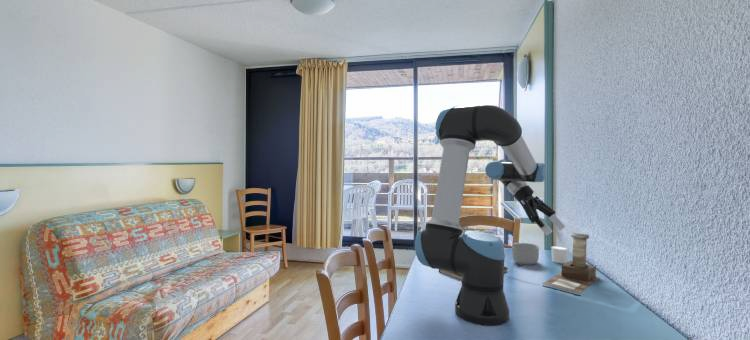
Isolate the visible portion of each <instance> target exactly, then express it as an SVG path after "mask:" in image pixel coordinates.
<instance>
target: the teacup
mask: <svg viewBox="0 0 750 340" xmlns="http://www.w3.org/2000/svg"><path fill="white" fill-rule="evenodd" d="M539 252H540V246H538V245H536V244H533V243H529V242H528V243H527V242H526V243H525V242H519V243H518V242H514V243H512V245H511V253H512V254H511V256H512V260H513V261H514V262H515V263H516V264H518V265H520V266H523V267H524V266H525V265H526V266H529V265H530V266H531V265H532V266H533V265H535V264H537V263H538V261H539V257H540V253H539Z"/></svg>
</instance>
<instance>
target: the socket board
mask: <svg viewBox="0 0 750 340" xmlns="http://www.w3.org/2000/svg"><path fill="white" fill-rule="evenodd" d="M596 272H597V266H596V265H593V264H587V263H586V268H585V269H582V268H578V267H573V266H572V260H569V261H567V263H563V264H562V265H561V272H559V273H558V274H556V275H555V276H552V277H551V278H550V279H548V280H546V281H544V282H543V283H542V284H543V285H542V287H544V288H548V289H552V290H554V291H559V292H562V293H566V294H570V295H574V296H576V297H581V296H582V295H581V293H582V292H584V291H585V290H587V289H588V288H589V287H590V286H591V285H593V284H594V283H595V282H597V281H598V280H600V279H601V277H600V276H597V275H596ZM576 293H577V294H576Z"/></svg>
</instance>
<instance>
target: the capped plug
mask: <svg viewBox="0 0 750 340" xmlns="http://www.w3.org/2000/svg"><path fill="white" fill-rule="evenodd" d="M570 235H571V238H572V258H571V259H572V260H571V261H572V266H573V267H578V268H582V269H585V268H586V264H587V245H588V243H587V240H588V239H590V235H589V234H587V233H582V232H571V234H570Z"/></svg>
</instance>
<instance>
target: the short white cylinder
mask: <svg viewBox="0 0 750 340" xmlns="http://www.w3.org/2000/svg"><path fill="white" fill-rule="evenodd" d="M550 248H551V249H550V251H551V261H552V262H554V263H557V264H565V263H567V262H568V260H569V252H570V248H568V247H565V246H560V245H552V246H550Z"/></svg>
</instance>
